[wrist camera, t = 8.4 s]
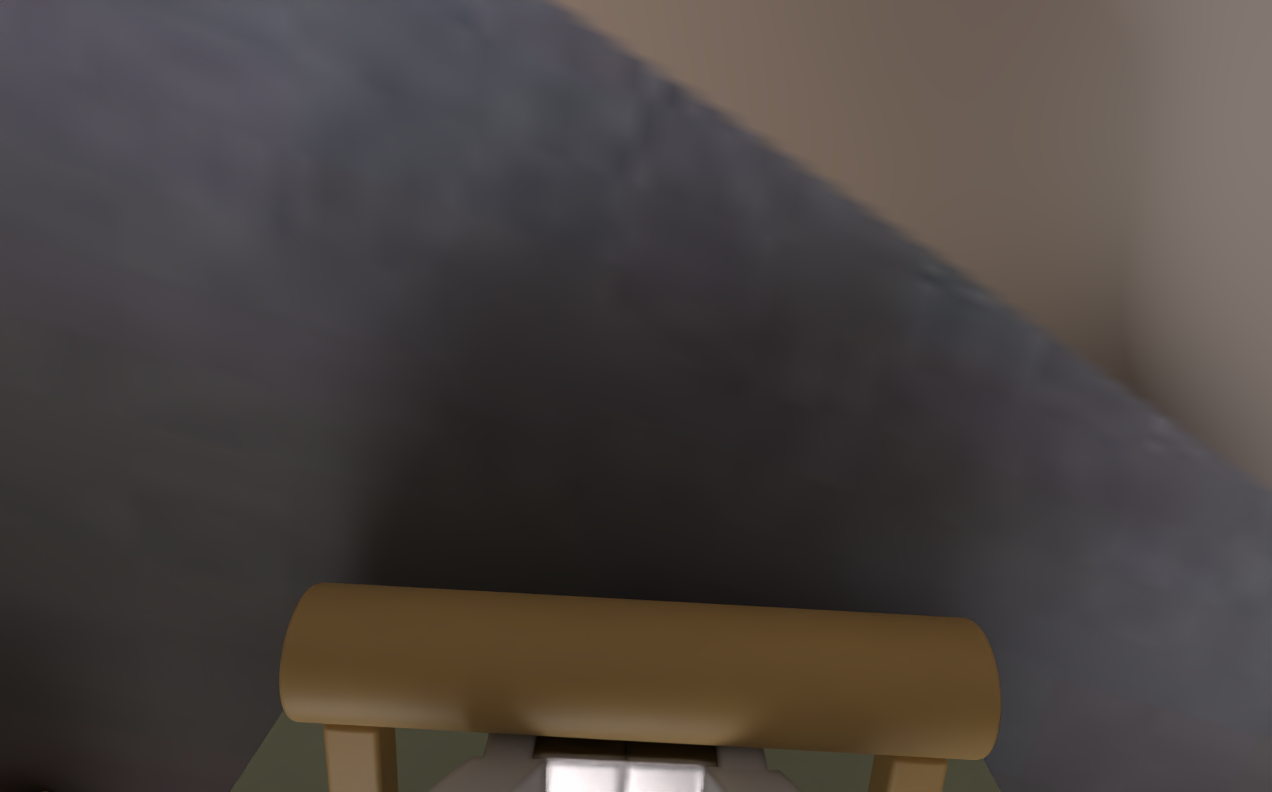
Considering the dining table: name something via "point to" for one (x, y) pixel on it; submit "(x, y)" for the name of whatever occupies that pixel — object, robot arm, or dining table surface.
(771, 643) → the drawer
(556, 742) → the robot arm
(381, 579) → the dining table surface
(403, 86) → the dining table surface
